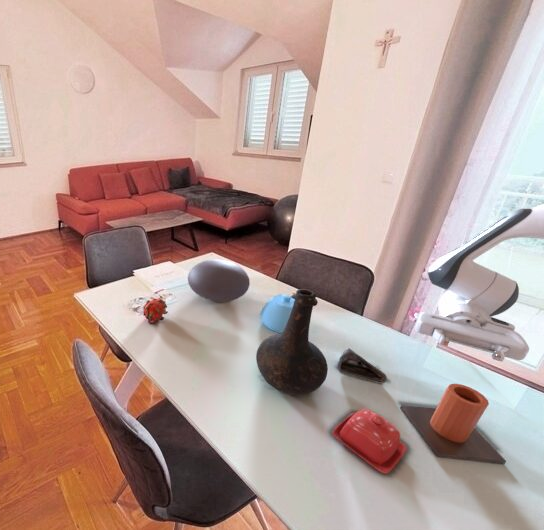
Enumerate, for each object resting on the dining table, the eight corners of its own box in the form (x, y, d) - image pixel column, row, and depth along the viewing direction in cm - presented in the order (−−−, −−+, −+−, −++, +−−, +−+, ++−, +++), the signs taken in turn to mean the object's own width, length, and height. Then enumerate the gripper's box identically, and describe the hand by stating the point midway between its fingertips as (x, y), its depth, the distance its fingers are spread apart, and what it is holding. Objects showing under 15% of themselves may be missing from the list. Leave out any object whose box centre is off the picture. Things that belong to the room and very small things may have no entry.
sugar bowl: (252, 325, 112) (257, 297, 108) (268, 308, 123) (273, 282, 118) (296, 342, 103) (303, 312, 99) (309, 322, 114) (316, 294, 109)
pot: (456, 421, 74) (475, 386, 70) (473, 445, 69) (496, 409, 64) (424, 415, 76) (441, 381, 72) (439, 438, 70) (459, 403, 66)
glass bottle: (285, 414, 77) (309, 320, 66) (240, 367, 93) (253, 283, 81) (337, 394, 84) (367, 303, 72) (286, 352, 99) (305, 272, 87)
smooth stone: (238, 318, 117) (243, 282, 111) (177, 300, 128) (178, 267, 122) (253, 290, 136) (258, 259, 130) (199, 277, 148) (201, 248, 142)
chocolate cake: (382, 370, 92) (356, 335, 94) (390, 380, 86) (361, 343, 87) (350, 384, 96) (326, 349, 98) (355, 394, 89) (329, 358, 91)
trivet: (456, 413, 78) (458, 410, 77) (504, 464, 66) (506, 461, 66) (399, 407, 79) (401, 404, 79) (436, 456, 68) (438, 453, 67)
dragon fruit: (163, 313, 122) (150, 334, 113) (146, 299, 122) (132, 318, 113) (175, 302, 117) (163, 323, 108) (157, 288, 117) (144, 307, 108)
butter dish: (408, 451, 69) (421, 423, 65) (384, 480, 63) (397, 452, 60) (353, 414, 78) (362, 388, 74) (327, 437, 72) (336, 410, 68)
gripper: (417, 302, 89) (419, 324, 79) (523, 326, 78) (540, 356, 68) (410, 320, 92) (411, 344, 82) (511, 347, 80) (526, 378, 70)
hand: (470, 350), depth 75 cm, fingers open, 8 cm apart
